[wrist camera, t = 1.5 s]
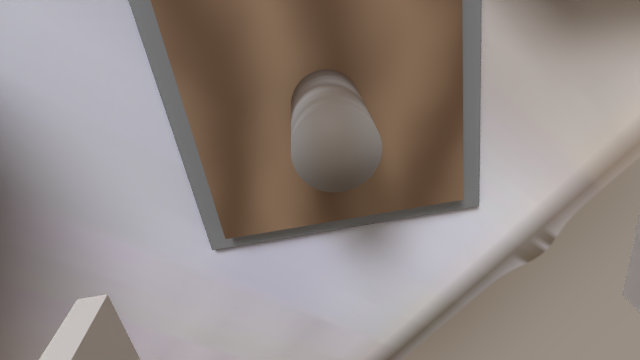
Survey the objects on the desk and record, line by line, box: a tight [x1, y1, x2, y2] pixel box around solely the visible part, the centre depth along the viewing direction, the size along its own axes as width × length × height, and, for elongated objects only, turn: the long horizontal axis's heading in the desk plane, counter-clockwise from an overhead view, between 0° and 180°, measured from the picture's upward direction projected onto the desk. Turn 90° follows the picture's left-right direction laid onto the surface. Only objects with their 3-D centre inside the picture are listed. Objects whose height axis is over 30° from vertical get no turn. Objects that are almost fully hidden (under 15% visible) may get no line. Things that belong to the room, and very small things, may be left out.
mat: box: [129, 0, 482, 250], centre depth 27 cm, size 19×19×1 cm
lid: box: [151, 0, 464, 239], centre depth 23 cm, size 16×16×8 cm
